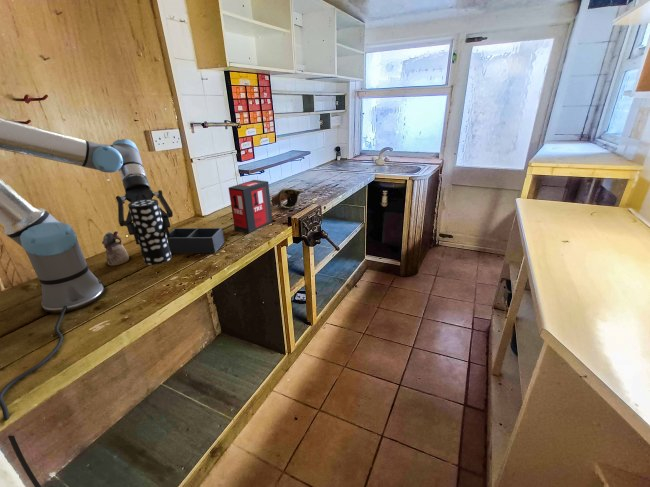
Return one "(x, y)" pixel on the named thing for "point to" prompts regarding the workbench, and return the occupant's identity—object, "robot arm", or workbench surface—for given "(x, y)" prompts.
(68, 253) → the robot arm
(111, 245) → the figurine
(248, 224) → the cleaning product box
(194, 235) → the tray
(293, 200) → the pot
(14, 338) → the workbench surface
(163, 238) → the spotted tube
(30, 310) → the workbench surface
